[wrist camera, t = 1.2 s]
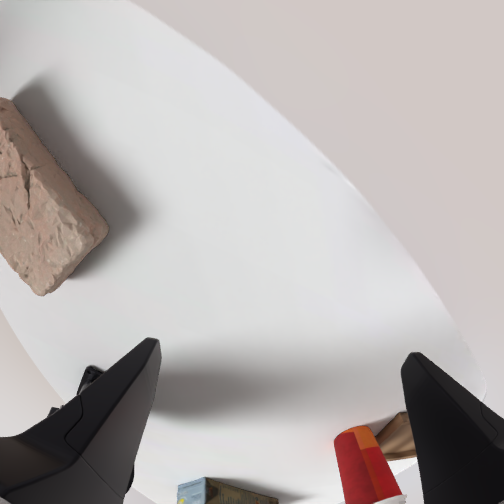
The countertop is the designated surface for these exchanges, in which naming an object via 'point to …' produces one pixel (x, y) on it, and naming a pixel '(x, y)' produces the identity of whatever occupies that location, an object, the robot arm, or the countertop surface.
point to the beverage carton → (217, 494)
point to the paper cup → (365, 469)
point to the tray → (397, 439)
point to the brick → (40, 209)
